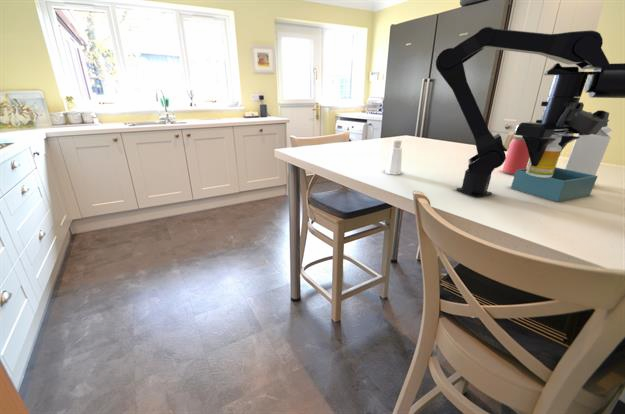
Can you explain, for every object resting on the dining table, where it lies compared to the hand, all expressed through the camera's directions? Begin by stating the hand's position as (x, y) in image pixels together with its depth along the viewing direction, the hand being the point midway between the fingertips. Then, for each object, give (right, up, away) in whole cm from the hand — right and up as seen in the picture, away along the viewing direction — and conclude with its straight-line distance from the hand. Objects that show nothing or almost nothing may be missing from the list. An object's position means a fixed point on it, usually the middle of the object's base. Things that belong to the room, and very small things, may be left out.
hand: (541, 165), depth 70 cm
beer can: (+14, +1, +29) cm, 33 cm away
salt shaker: (-29, +1, +27) cm, 40 cm away
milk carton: (+26, -3, +19) cm, 33 cm away
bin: (+11, -6, +11) cm, 17 cm away
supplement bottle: (0, -3, +1) cm, 3 cm away
